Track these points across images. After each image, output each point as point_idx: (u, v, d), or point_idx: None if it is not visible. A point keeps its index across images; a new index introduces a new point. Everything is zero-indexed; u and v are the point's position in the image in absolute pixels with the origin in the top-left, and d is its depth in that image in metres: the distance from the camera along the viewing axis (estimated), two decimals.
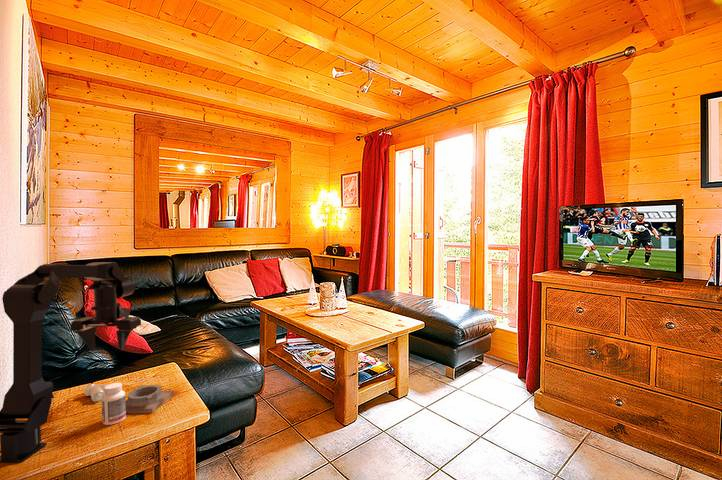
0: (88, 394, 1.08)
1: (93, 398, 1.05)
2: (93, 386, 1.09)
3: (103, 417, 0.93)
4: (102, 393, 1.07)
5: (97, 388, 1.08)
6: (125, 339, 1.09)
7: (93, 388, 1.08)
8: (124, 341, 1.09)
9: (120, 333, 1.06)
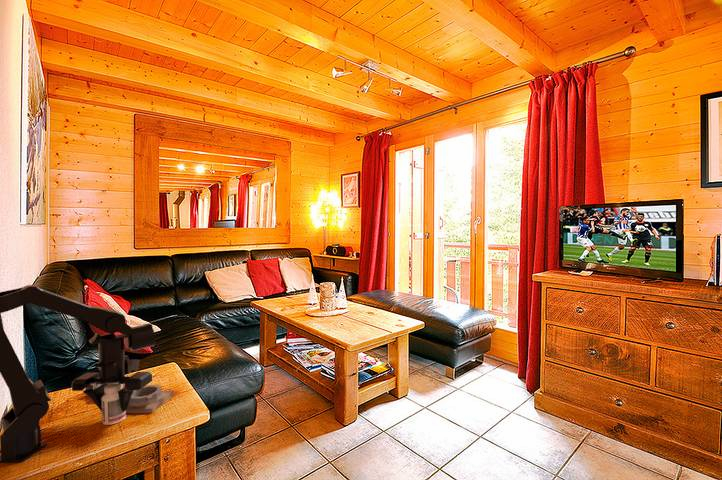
0: None
1: None
2: None
3: (103, 417, 0.93)
4: None
5: None
6: (128, 399, 0.95)
7: None
8: (127, 401, 0.95)
9: (122, 394, 0.92)
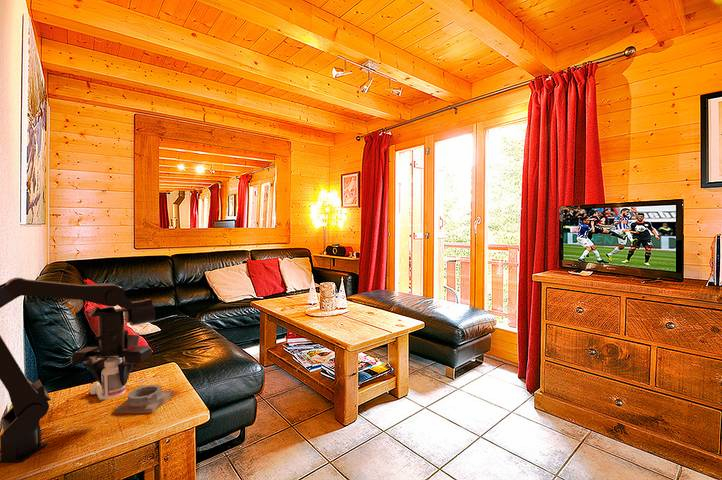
0: (94, 393, 1.09)
1: (100, 396, 1.06)
2: (99, 385, 1.10)
3: (103, 390, 0.93)
4: None
5: None
6: (128, 372, 0.95)
7: (99, 387, 1.09)
8: (127, 375, 0.95)
9: (122, 367, 0.92)
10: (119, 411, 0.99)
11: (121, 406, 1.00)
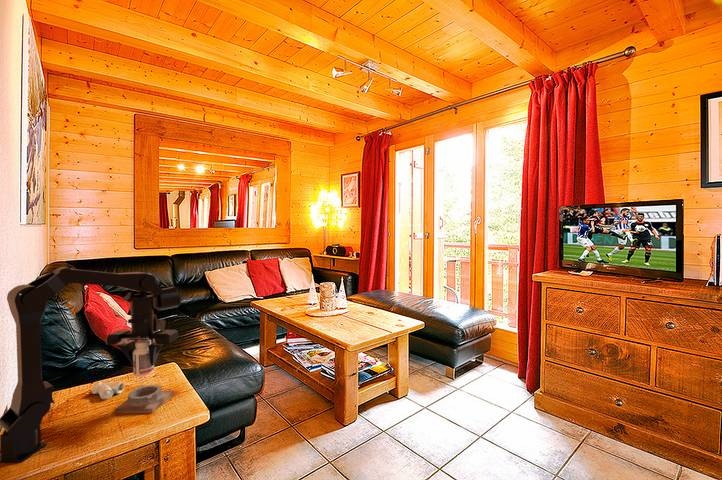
0: (96, 392, 1.10)
1: (102, 396, 1.07)
2: (101, 384, 1.10)
3: (134, 369, 1.02)
4: (110, 391, 1.08)
5: (106, 386, 1.09)
6: (157, 353, 1.04)
7: (101, 386, 1.09)
8: (156, 355, 1.04)
9: (152, 348, 1.01)
10: (119, 411, 0.99)
11: (121, 406, 1.00)
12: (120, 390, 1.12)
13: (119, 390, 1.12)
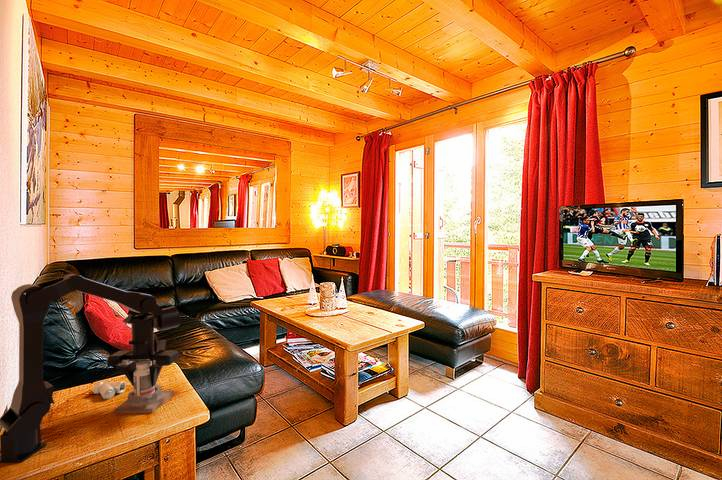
0: (97, 392, 1.10)
1: (103, 395, 1.07)
2: (102, 384, 1.11)
3: (135, 390, 1.02)
4: (112, 390, 1.08)
5: (107, 386, 1.10)
6: (157, 374, 1.04)
7: (103, 386, 1.10)
8: (156, 376, 1.04)
9: (153, 369, 1.01)
10: (119, 411, 0.99)
11: (121, 406, 1.00)
12: (121, 390, 1.12)
13: (120, 390, 1.12)
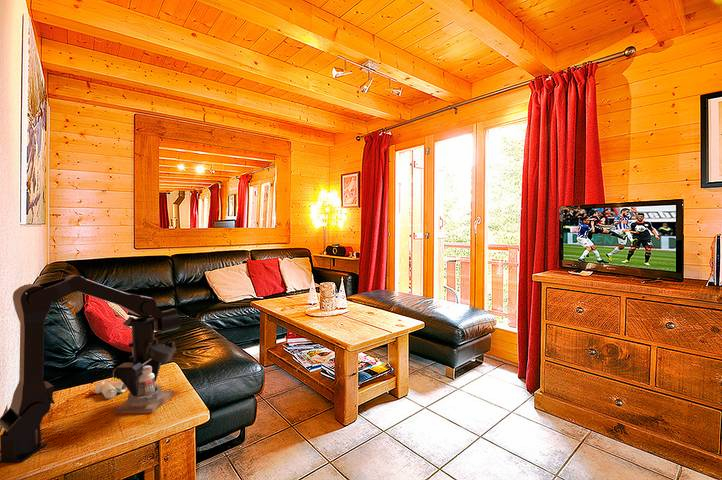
0: (99, 391, 1.10)
1: (106, 395, 1.07)
2: (104, 383, 1.11)
3: None
4: (114, 390, 1.09)
5: (109, 385, 1.10)
6: (132, 386, 0.98)
7: (104, 385, 1.10)
8: (132, 387, 0.99)
9: None
10: (119, 411, 0.99)
11: (121, 406, 1.00)
12: (123, 389, 1.13)
13: (122, 389, 1.13)
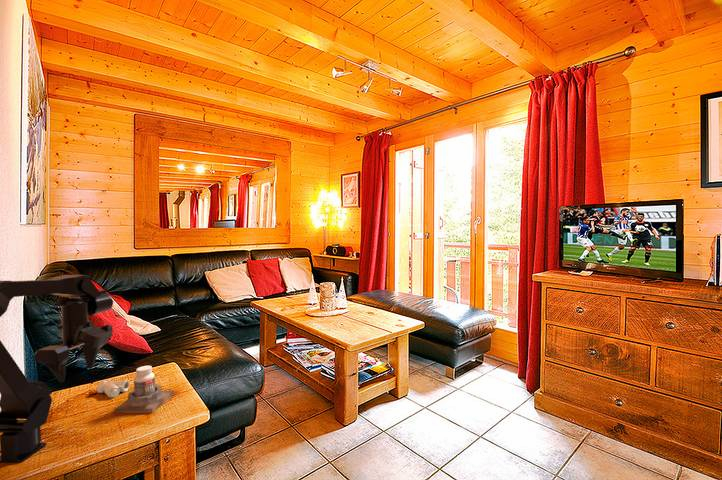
0: (101, 391, 1.11)
1: (109, 394, 1.08)
2: (106, 383, 1.11)
3: None
4: (117, 389, 1.09)
5: (111, 384, 1.10)
6: (58, 371, 0.91)
7: (107, 385, 1.10)
8: (57, 373, 0.91)
9: None
10: (119, 411, 0.99)
11: (121, 406, 1.00)
12: (125, 388, 1.13)
13: (124, 388, 1.13)
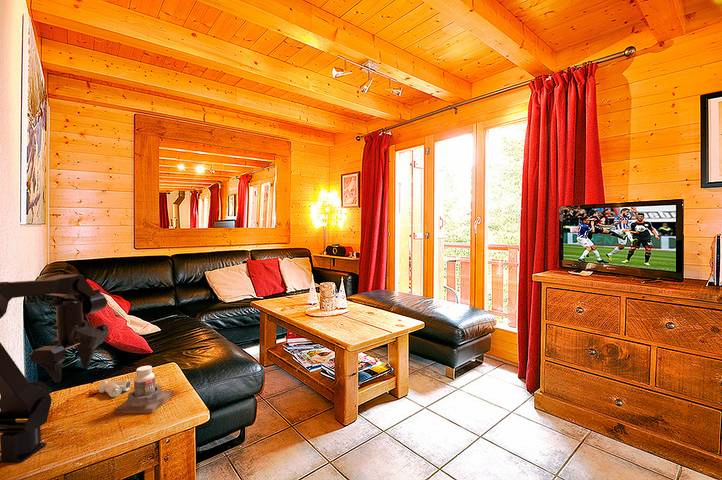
0: (103, 390, 1.11)
1: (111, 393, 1.08)
2: (108, 382, 1.12)
3: None
4: (119, 388, 1.10)
5: (113, 384, 1.11)
6: (54, 371, 0.90)
7: (109, 384, 1.11)
8: (53, 373, 0.90)
9: None
10: (119, 411, 0.99)
11: (121, 406, 1.00)
12: (127, 388, 1.14)
13: (126, 388, 1.14)
